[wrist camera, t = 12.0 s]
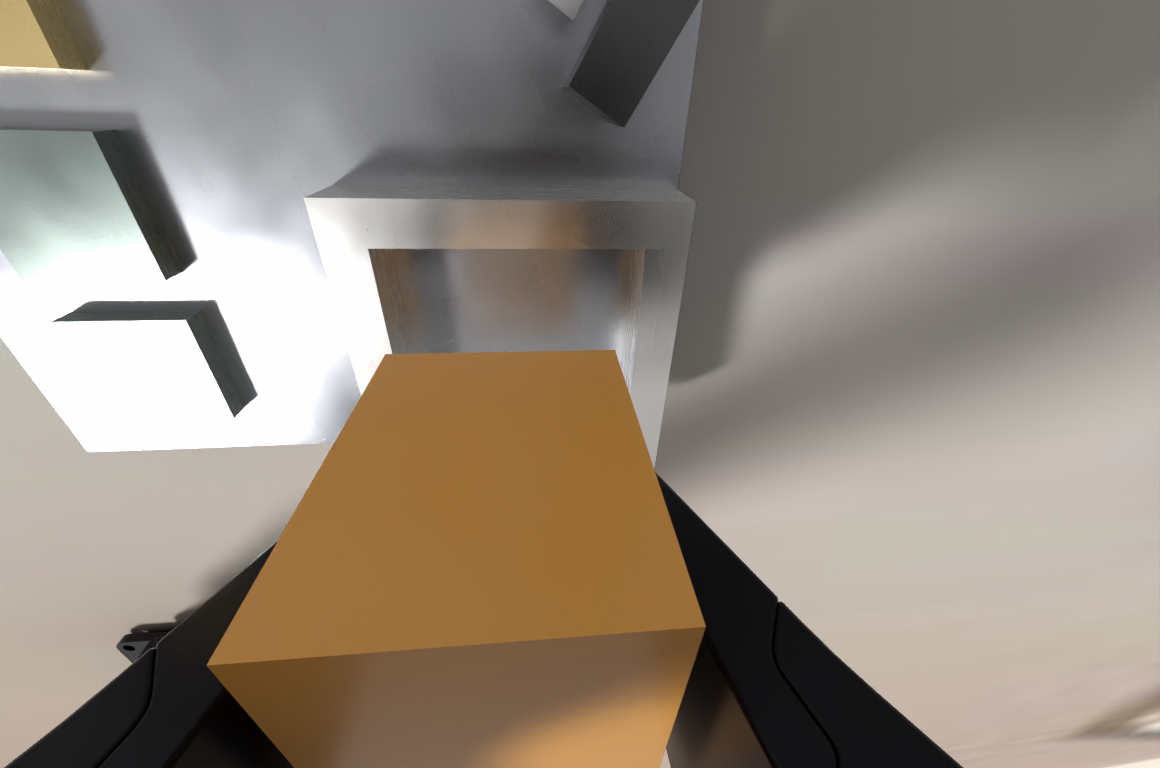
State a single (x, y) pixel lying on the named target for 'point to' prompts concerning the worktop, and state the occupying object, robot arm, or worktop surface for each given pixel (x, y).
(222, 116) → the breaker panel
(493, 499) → the orange cube
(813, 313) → the worktop surface
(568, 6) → the block
